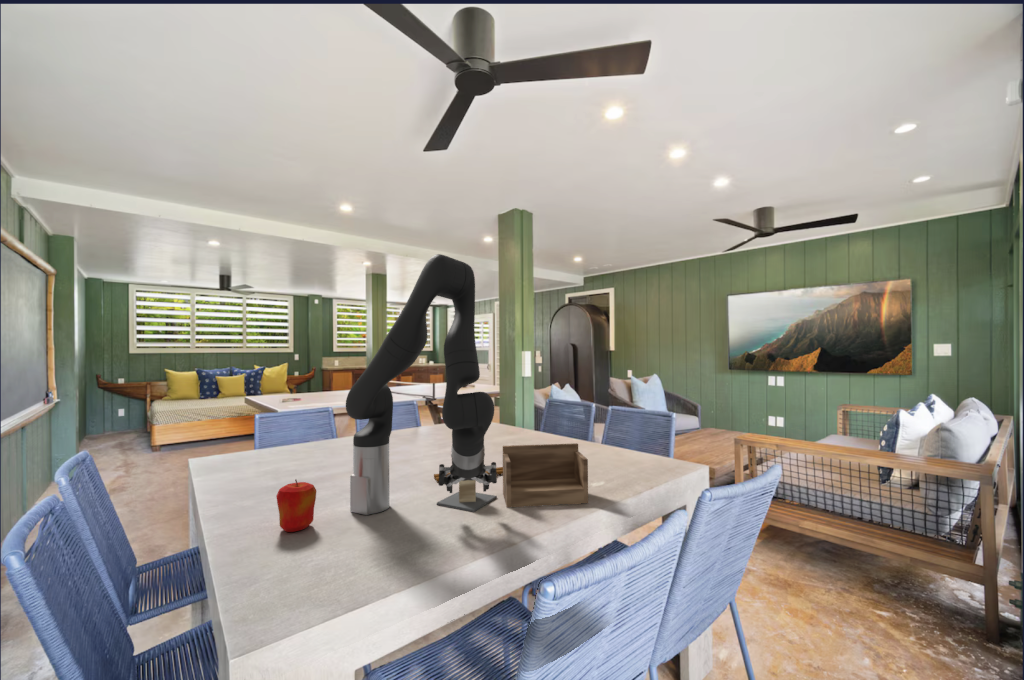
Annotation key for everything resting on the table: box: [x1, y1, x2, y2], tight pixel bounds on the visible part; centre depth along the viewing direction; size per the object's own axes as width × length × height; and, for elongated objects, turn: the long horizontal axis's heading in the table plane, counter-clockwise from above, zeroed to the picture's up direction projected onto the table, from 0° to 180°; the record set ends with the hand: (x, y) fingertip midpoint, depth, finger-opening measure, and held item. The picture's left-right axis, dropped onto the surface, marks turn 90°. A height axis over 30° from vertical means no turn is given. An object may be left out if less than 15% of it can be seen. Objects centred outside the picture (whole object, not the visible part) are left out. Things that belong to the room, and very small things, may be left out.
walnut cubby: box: [502, 443, 589, 508], centre depth 125 cm, size 11×22×14 cm, turn 96°
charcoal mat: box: [436, 491, 498, 513], centre depth 123 cm, size 12×12×1 cm
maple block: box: [458, 480, 477, 502], centre depth 123 cm, size 4×4×10 cm
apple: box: [275, 479, 317, 533], centre depth 105 cm, size 9×8×12 cm
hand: (467, 489), depth 112 cm, fingers open, 8 cm apart
